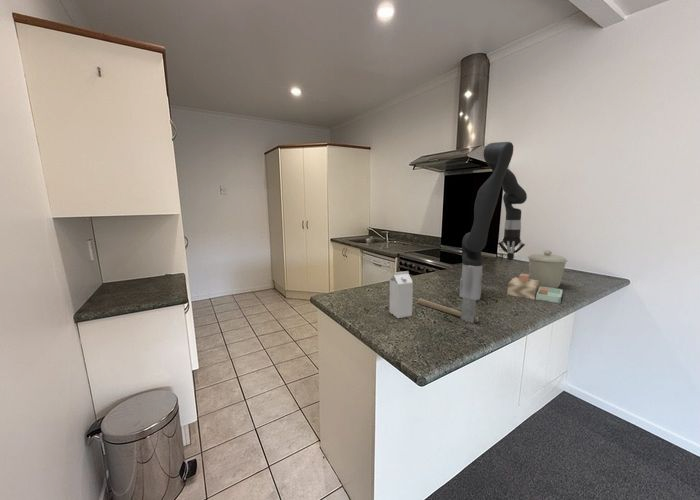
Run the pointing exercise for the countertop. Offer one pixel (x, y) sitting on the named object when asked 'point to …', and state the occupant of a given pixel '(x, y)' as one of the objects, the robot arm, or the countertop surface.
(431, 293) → the countertop surface
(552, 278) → the canister
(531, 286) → the zigzag patterned block
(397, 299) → the milk carton
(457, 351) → the countertop surface
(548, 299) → the bin
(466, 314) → the long-handled mallet
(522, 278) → the terracotta tile
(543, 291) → the terracotta tile
